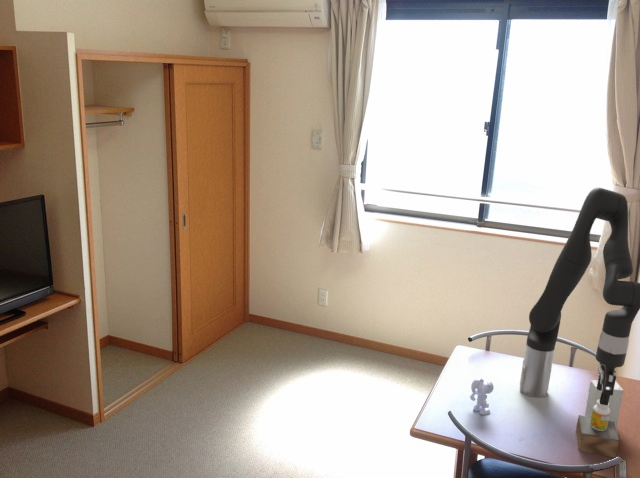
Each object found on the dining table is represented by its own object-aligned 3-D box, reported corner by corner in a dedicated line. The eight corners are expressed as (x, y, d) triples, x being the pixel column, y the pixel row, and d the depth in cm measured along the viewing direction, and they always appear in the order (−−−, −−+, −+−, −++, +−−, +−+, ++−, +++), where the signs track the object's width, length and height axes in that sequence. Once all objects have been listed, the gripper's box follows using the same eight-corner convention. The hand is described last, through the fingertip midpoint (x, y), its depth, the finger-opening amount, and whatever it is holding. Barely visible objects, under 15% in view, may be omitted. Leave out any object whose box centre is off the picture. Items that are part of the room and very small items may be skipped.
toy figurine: (495, 413, 194) (499, 380, 190) (482, 419, 190) (487, 385, 187) (478, 403, 199) (482, 371, 196) (465, 409, 195) (469, 376, 192)
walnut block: (578, 450, 176) (581, 432, 174) (575, 431, 185) (578, 415, 184) (615, 458, 173) (619, 440, 171) (610, 438, 182) (614, 421, 181)
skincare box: (609, 421, 192) (617, 380, 188) (616, 432, 186) (625, 390, 182) (582, 419, 192) (590, 378, 188) (589, 430, 186) (597, 388, 182)
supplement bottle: (586, 422, 180) (591, 397, 177) (601, 422, 180) (606, 397, 178) (594, 431, 175) (599, 406, 173) (609, 431, 176) (614, 406, 173)
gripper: (595, 334, 178) (586, 383, 182) (600, 354, 165) (590, 406, 169) (623, 339, 175) (612, 388, 180) (630, 360, 162) (619, 412, 167)
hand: (601, 397), depth 175 cm, fingers open, 8 cm apart
